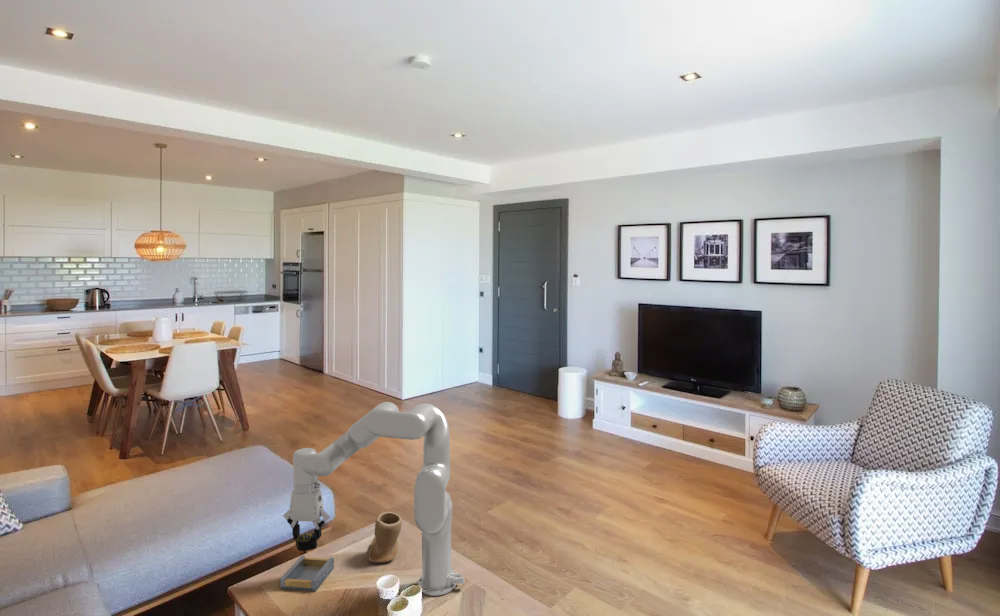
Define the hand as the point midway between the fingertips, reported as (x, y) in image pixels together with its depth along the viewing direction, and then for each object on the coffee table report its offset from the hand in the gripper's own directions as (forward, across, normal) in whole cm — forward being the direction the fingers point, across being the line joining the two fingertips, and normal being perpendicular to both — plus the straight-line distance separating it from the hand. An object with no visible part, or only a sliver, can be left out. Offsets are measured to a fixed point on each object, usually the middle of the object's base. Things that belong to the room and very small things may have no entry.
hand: (307, 538), depth 180 cm
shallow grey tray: (+14, 0, 0) cm, 14 cm away
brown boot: (+14, -21, -18) cm, 31 cm away
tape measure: (+4, 0, 0) cm, 4 cm away
